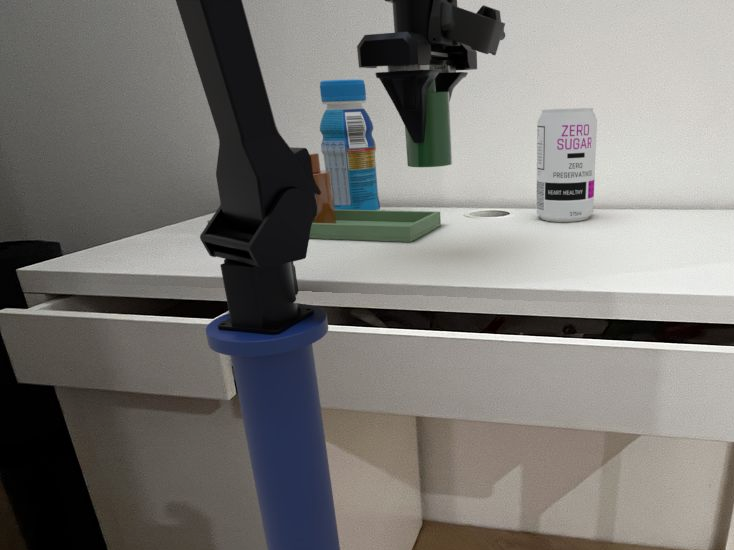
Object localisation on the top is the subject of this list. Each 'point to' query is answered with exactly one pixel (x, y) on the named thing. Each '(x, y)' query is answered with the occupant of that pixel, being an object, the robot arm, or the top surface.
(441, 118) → the green bottle
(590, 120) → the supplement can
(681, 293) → the top surface
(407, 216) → the tray
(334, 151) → the beverage bottle
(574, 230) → the top surface
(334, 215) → the amber bottle near
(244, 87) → the robot arm
